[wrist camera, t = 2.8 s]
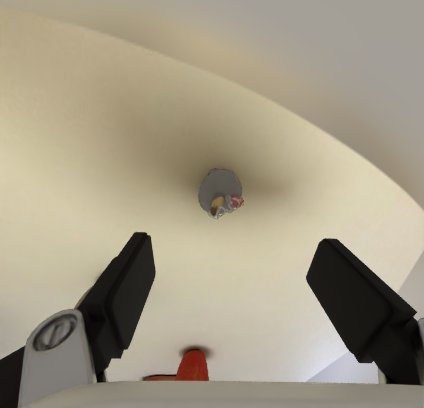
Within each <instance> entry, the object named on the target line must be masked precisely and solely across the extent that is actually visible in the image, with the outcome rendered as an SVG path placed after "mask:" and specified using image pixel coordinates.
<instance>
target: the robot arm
mask: <svg viewBox="0 0 424 408" xmlns="http://www.w3.org/2000/svg"><path fill="white" fill-rule="evenodd" d="M154 278H155V264H154V257H153V250H152V243H151V237H150V235H147V233H145V232H135V233H134V234H133V235H132V237H131V238H130V240H129V241H128V242H127V244H126V245H125V247H124V248H123V249H122V251H121V252H120V254H119V255H118V256H117V257H115V258H114V259H113V260H112V261H111V262H110V264H109V265H108V266H107V268H106V269H105V271H104V272H103V273H102V275H101V276H100V277H99V279H98V280H97V281H96V283H95V284H94V286H93V287H92V288H91V290H90V291H89V292H88V294H87V295H86V296H85V298H84V299H83V300H82V302H81V303H80V305H79V306H78V307H77V309H68V310H63V311H60V312H58V313H55V314H54V315H52V316H50V317H49V318H47V319H46V320H44V321H43V322H42V323H41V324H39V325H38V326H37V328H36V329H35V330H34V331H33V332H32V333H31V335H30V336H29V338H28V339H27V342H26V345H25V346H24V347H22V348H20V349H18V350H17V351H15V352H13V353H11V354H10V355H8V356H6V357H5V358H3V359H1V360H0V408H424V318H421V319H419V320H418V321H417V320H416V319H414V318H413V316H414V315H415V314H416V313H417V312H416V311H415V310H414V309H413V308H412V307H411V306H410V305H409V304H408V303H407V302H405V301H404V300H403V299H402V298H401V297H400V296H399V295H398V294H397V293H396V292H395V291H393V290H392V289H391V288H390V287H389V286H388V285H387V284H386V283H385V282H384V281H382V280H381V279H380V278H379V277H378V276H377V275H376V274H375V273H374V272H373V271H371V270H370V269H369V268H368V267H367V266H366V265H365V264H364V263H363V262H362V261H361V260H359V259H358V258H357V257H356V256H355V255H354V254H353V253H352V252H351V251H350V250H348V249H347V248H346V247H345V246H344V245H343V244H342V243H341V242H340V241H339V240H337V239H326V238H325V239H323V240H322V241H320V243H319V245H318V247H317V250H316V252H315V255H314V258H313V260H312V263H311V265H310V268H309V270H308V273H307V276H306V280H307V282H308V284H309V286H310V288H311V289H312V291H313V292H314V294H315V296H316V297H317V299H318V301H319V302H320V304H321V306H322V307H323V309H324V311H325V312H326V314H327V316H328V317H329V319H330V320H331V322H332V324H333V325H334V327H335V329H336V330H337V332H338V334H339V335H340V337H341V339H342V340H343V342H344V344H345V345H346V347H347V348H348V350H349V351H350V352H351V353H352V354H354V356H355V357H356V359H357V361H358V362H359V363H372V362H373V361H374V362H375V363H376V365H377V366H378V378H379V379H378V380H379V384H356V383H308V382H246V381H117V382H108V378H107V373H106V368H107V367H108V366H109V363H110V361H111V359H112V358H120V359H121V356H122V354H123V351H124V350H126V349H128V347H129V345H130V343H131V340H132V338H133V335H134V332H135V329H136V327H137V324H138V321H139V319H140V316H141V313H142V311H143V308H144V305H145V303H146V300H147V297H148V295H149V292H150V289H151V286H152V284H153V281H154Z"/></svg>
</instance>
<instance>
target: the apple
mask: <svg viewBox="0 0 424 408" xmlns="http://www.w3.org/2000/svg"><path fill="white" fill-rule="evenodd" d="M175 381H209V378H208V369H207V363H206V359H205V356H204V354H203V352H202V351H200V350H193V351H190V352H187V353H186V354H185V355H184V357H183V358H182V361H181V363H180V365H179V368H178V371H177V375H176V378H175Z"/></svg>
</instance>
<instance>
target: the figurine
mask: <svg viewBox="0 0 424 408" xmlns="http://www.w3.org/2000/svg"><path fill="white" fill-rule="evenodd" d="M241 195H242V187H241V184H240V182H239V180H238V178H237V176H236V174H235V173H234V172H232V171H229V170H220V169H218V168H215V169H212V170H211V171H210V172H209V174H208V176H207V177H206V178H205V180H204V181H203V182H202V184H201V186H200V190H199V194H198V200H199V203H200V205H201V207H202V208H203V209H204V210H205V211H207V212H208V215H209V216H210V217H213V218H214V217H216V216H217V218H215V219H218V218H219V217H221V216H222V215H223V214H224V213H226V212H228V213H231V212H232V211H234V210H236V209H238V208H239V207H241V205H242V204H243V202H244V200H243V198H242V197H241ZM243 205H244V204H243ZM243 205H242V206H243ZM235 207H236V209H234V210H233V208H235ZM231 210H232V211H231ZM229 211H231V212H229ZM219 214H222V215H221V216H220V215H219Z"/></svg>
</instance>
